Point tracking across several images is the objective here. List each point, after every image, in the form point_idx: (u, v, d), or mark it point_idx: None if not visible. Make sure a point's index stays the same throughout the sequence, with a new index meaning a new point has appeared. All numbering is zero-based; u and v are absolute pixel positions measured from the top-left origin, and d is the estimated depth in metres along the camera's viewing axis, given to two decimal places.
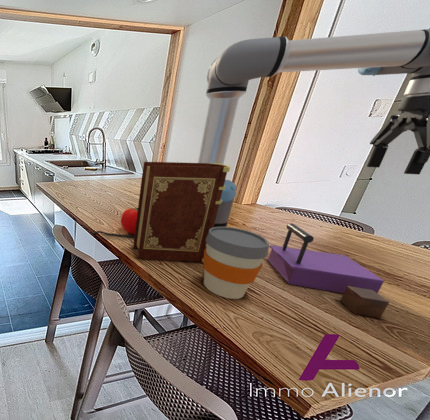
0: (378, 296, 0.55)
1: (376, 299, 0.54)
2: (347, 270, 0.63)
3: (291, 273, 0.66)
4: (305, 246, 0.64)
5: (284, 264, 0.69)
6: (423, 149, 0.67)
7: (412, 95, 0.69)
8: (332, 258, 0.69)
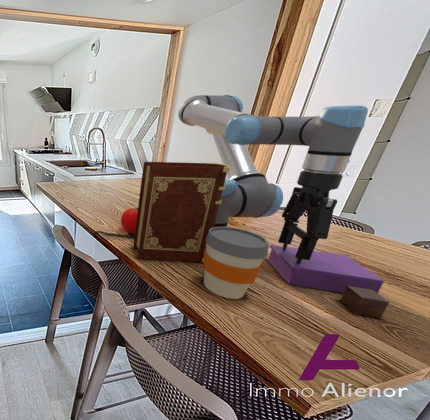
0: (378, 296, 0.55)
1: (376, 299, 0.54)
2: (347, 270, 0.63)
3: (291, 273, 0.66)
4: None
5: (284, 264, 0.69)
6: (309, 236, 0.62)
7: (308, 170, 0.62)
8: (332, 258, 0.69)
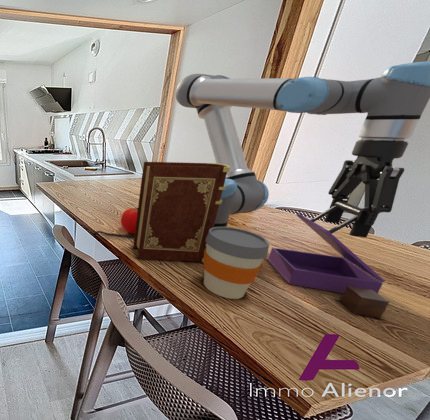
0: (378, 296, 0.55)
1: (376, 299, 0.54)
2: None
3: (291, 273, 0.66)
4: (353, 220, 0.59)
5: (284, 264, 0.69)
6: (368, 210, 0.56)
7: (367, 138, 0.57)
8: None
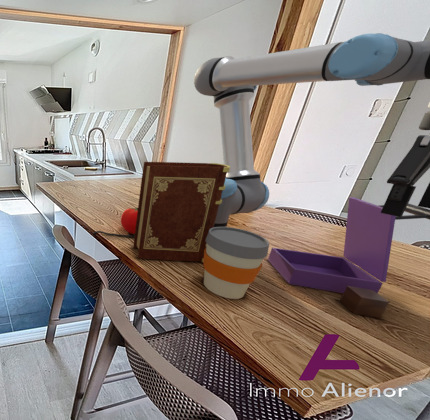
0: (378, 296, 0.55)
1: (376, 299, 0.54)
2: None
3: (291, 273, 0.66)
4: (419, 217, 0.55)
5: (284, 264, 0.69)
6: None
7: None
8: None
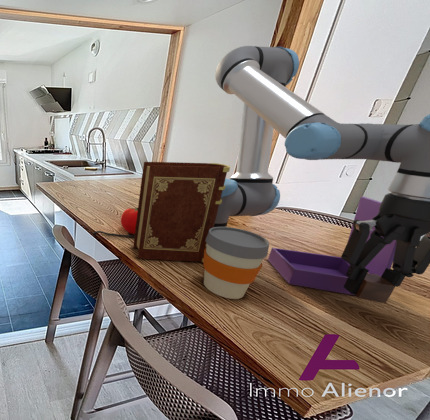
0: (384, 280, 0.54)
1: (382, 283, 0.53)
2: None
3: (291, 273, 0.66)
4: None
5: (284, 264, 0.69)
6: None
7: None
8: None
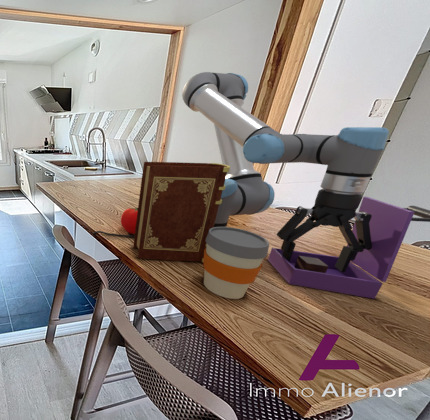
0: (321, 262, 0.67)
1: (318, 264, 0.66)
2: None
3: (291, 273, 0.66)
4: None
5: (284, 264, 0.69)
6: None
7: None
8: None
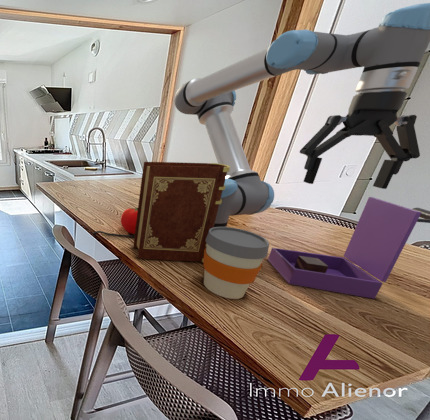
0: (321, 262, 0.67)
1: (318, 264, 0.66)
2: None
3: (291, 273, 0.66)
4: None
5: (284, 264, 0.69)
6: None
7: None
8: None
